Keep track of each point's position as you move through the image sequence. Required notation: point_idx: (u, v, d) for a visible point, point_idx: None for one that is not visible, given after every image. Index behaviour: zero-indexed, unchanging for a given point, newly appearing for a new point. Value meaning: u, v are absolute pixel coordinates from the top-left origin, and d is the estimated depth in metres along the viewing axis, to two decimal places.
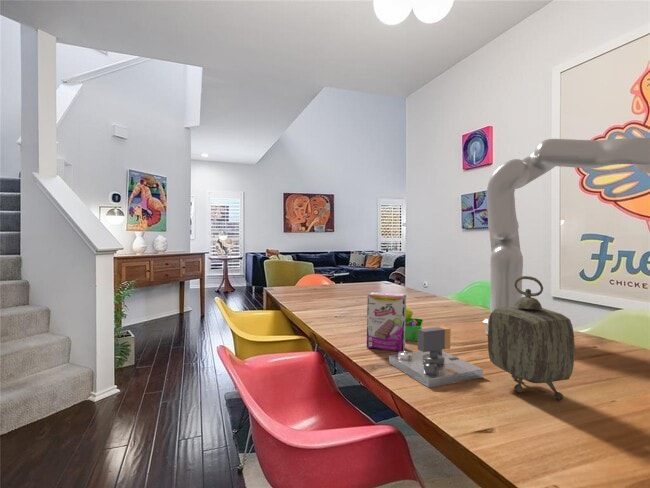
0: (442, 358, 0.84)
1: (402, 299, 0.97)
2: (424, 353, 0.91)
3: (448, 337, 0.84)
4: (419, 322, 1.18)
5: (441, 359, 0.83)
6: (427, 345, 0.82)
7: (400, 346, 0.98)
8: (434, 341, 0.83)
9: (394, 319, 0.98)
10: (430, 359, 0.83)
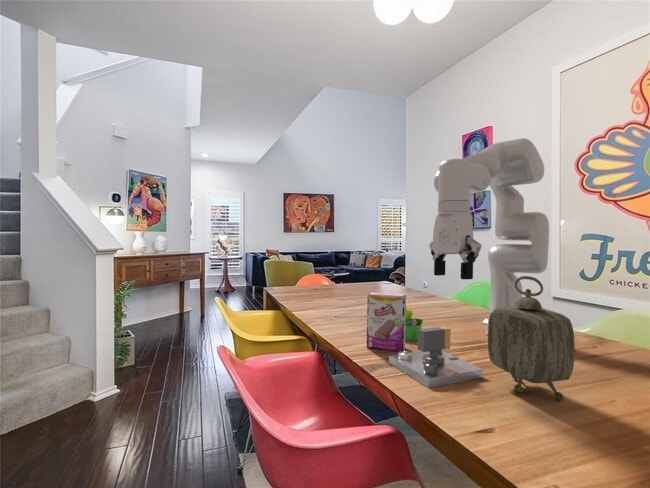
0: (442, 358, 0.84)
1: (402, 299, 0.97)
2: (424, 353, 0.91)
3: (448, 337, 0.84)
4: (419, 322, 1.18)
5: (441, 359, 0.83)
6: (427, 345, 0.82)
7: (400, 346, 0.98)
8: (434, 341, 0.83)
9: (394, 319, 0.98)
10: (430, 359, 0.83)
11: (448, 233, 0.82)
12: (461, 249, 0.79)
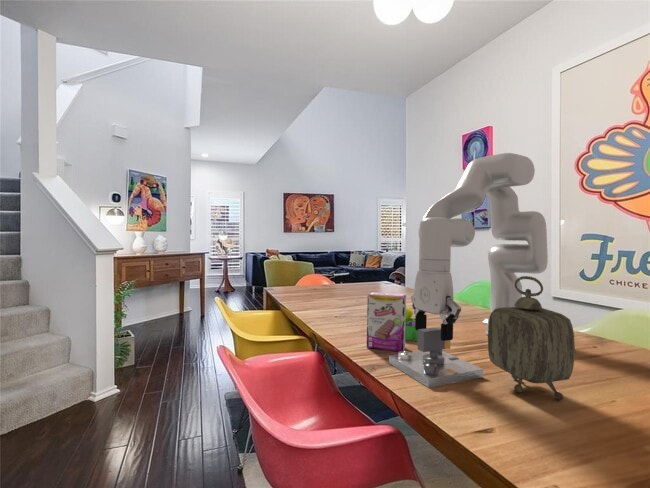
0: (442, 358, 0.84)
1: (402, 299, 0.97)
2: (424, 353, 0.91)
3: None
4: None
5: (441, 359, 0.83)
6: (427, 345, 0.82)
7: (400, 346, 0.98)
8: (434, 341, 0.83)
9: (394, 319, 0.98)
10: (430, 359, 0.83)
11: (428, 292, 0.82)
12: (441, 310, 0.79)
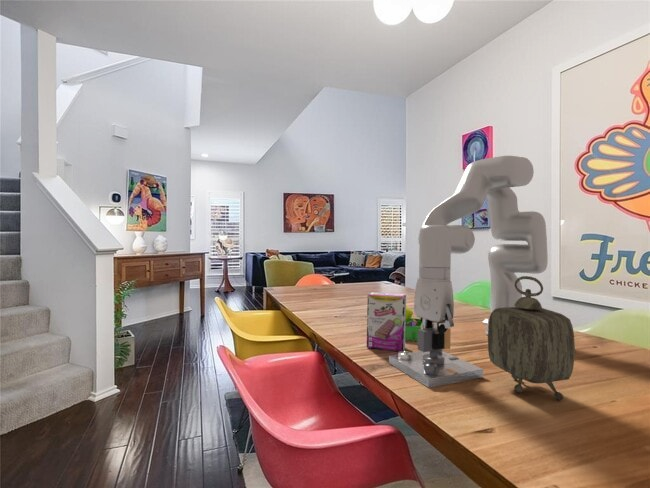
0: (442, 358, 0.84)
1: (402, 299, 0.97)
2: (424, 353, 0.91)
3: (448, 337, 0.84)
4: (419, 322, 1.18)
5: (441, 359, 0.83)
6: (427, 345, 0.82)
7: (400, 346, 0.98)
8: None
9: (394, 319, 0.98)
10: (430, 359, 0.83)
11: (428, 300, 0.82)
12: (441, 318, 0.79)
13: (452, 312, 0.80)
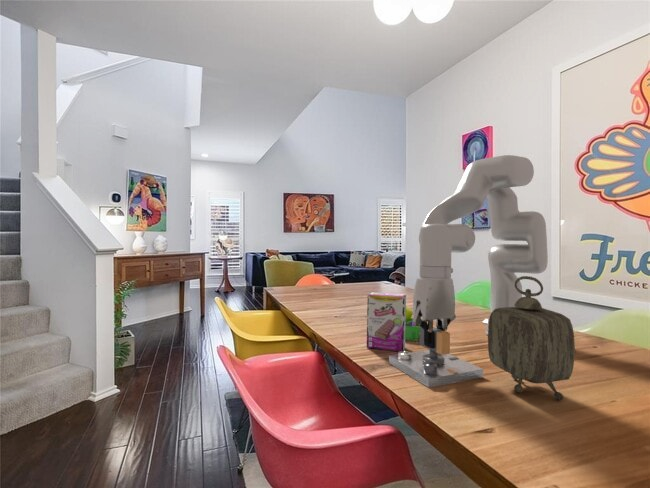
0: (434, 360, 0.82)
1: (402, 299, 0.97)
2: (424, 353, 0.91)
3: (440, 342, 0.80)
4: None
5: (430, 359, 0.83)
6: (422, 340, 0.86)
7: (400, 346, 0.98)
8: None
9: (394, 319, 0.98)
10: (426, 356, 0.85)
11: None
12: (413, 312, 0.84)
13: (421, 310, 0.81)
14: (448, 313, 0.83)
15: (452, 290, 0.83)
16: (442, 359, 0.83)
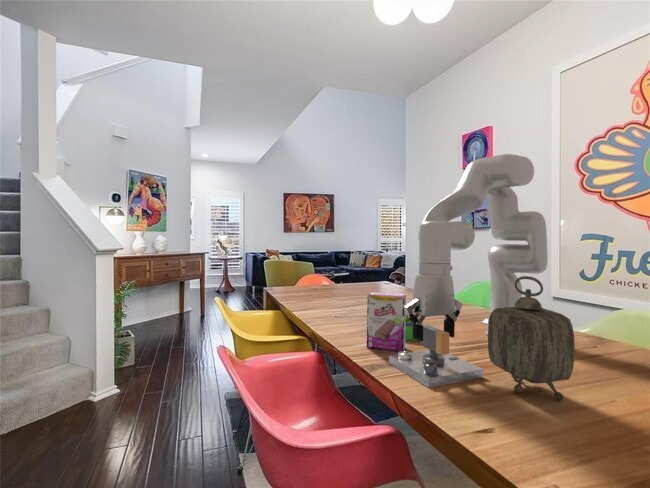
0: (434, 360, 0.82)
1: (402, 299, 0.97)
2: (424, 353, 0.91)
3: (439, 342, 0.80)
4: None
5: (430, 359, 0.83)
6: None
7: (400, 346, 0.98)
8: (427, 339, 0.85)
9: (394, 319, 0.98)
10: (426, 355, 0.85)
11: None
12: (413, 309, 0.84)
13: (421, 307, 0.81)
14: (447, 310, 0.83)
15: (451, 287, 0.83)
16: (442, 359, 0.83)
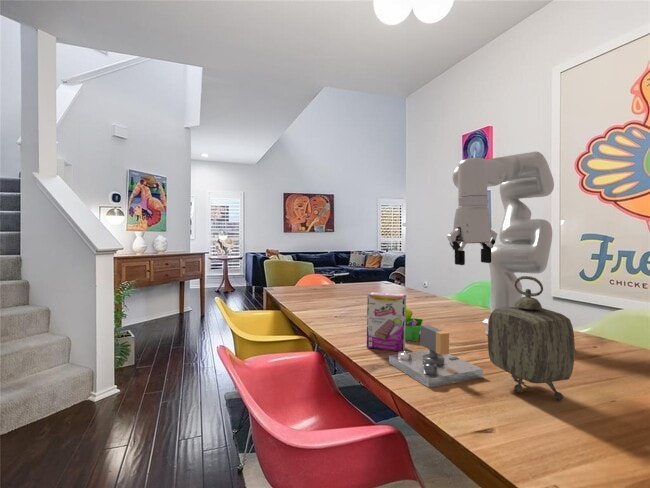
0: (434, 360, 0.82)
1: (402, 299, 0.97)
2: (424, 353, 0.91)
3: (438, 342, 0.80)
4: (419, 322, 1.18)
5: (430, 359, 0.83)
6: (422, 339, 0.87)
7: (400, 346, 0.98)
8: (427, 339, 0.85)
9: (394, 319, 0.98)
10: (427, 355, 0.85)
11: None
12: None
13: (462, 234, 0.92)
14: (485, 238, 0.94)
15: (488, 218, 0.94)
16: (442, 359, 0.83)
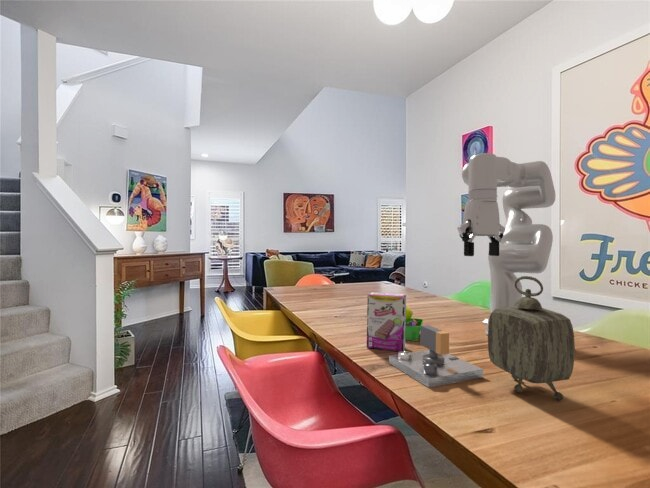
0: (434, 360, 0.82)
1: (402, 299, 0.97)
2: (424, 353, 0.91)
3: (438, 342, 0.80)
4: (419, 322, 1.18)
5: (430, 359, 0.83)
6: (422, 339, 0.87)
7: (400, 346, 0.98)
8: (427, 339, 0.85)
9: (394, 319, 0.98)
10: (427, 355, 0.85)
11: None
12: None
13: (472, 226, 0.95)
14: (494, 231, 0.96)
15: (497, 211, 0.97)
16: (442, 359, 0.83)
